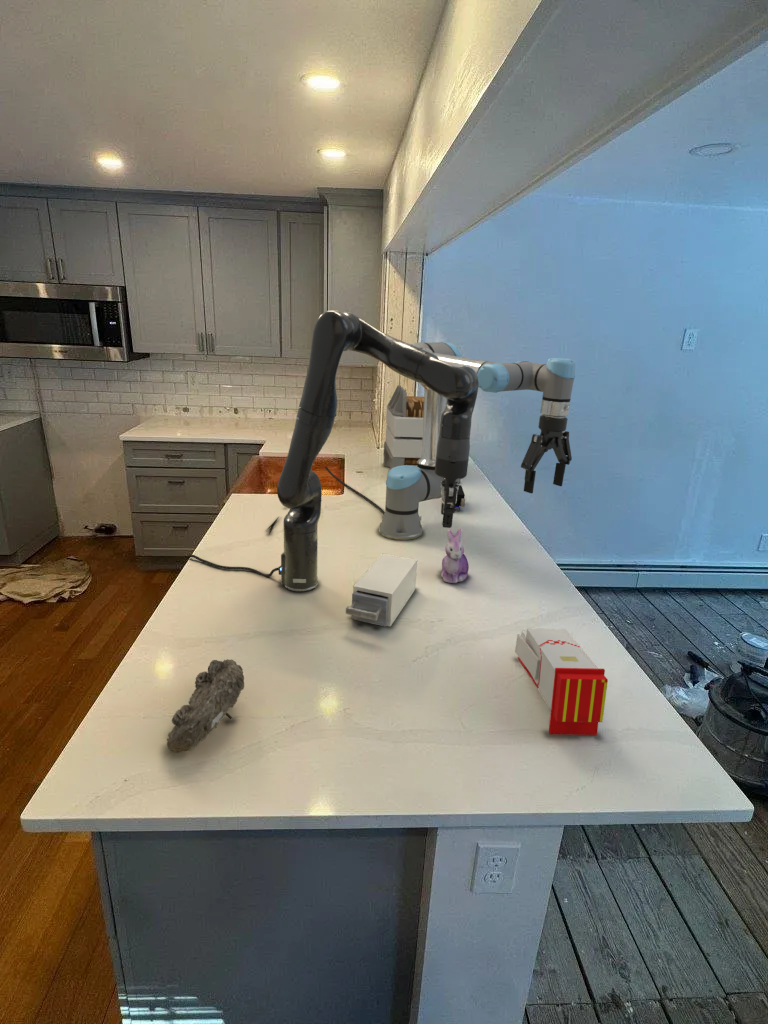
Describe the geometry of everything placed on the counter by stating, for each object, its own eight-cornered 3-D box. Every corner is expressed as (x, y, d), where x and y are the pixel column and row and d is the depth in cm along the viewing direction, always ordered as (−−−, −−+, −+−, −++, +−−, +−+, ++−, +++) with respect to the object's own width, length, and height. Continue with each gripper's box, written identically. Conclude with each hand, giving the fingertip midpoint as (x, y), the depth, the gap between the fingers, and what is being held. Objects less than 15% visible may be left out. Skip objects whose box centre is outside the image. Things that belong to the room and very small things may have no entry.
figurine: (450, 587, 163) (454, 538, 158) (431, 572, 171) (435, 526, 166) (477, 581, 167) (482, 534, 162) (457, 567, 175) (461, 522, 170)
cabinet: (390, 626, 141) (392, 594, 138) (352, 618, 145) (353, 585, 141) (415, 589, 161) (417, 559, 158) (381, 582, 164) (382, 553, 161)
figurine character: (465, 515, 224) (460, 499, 237) (467, 498, 221) (462, 483, 234) (448, 515, 224) (444, 499, 237) (450, 498, 220) (445, 482, 234)
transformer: (382, 463, 289) (386, 382, 275) (445, 464, 293) (451, 384, 279) (390, 482, 257) (394, 392, 243) (460, 483, 261) (468, 394, 247)
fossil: (192, 660, 117) (244, 628, 112) (224, 691, 120) (276, 661, 115) (142, 746, 98) (202, 712, 93) (182, 779, 101) (242, 748, 96)
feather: (286, 511, 220) (288, 507, 220) (268, 535, 193) (271, 531, 193) (282, 508, 220) (285, 504, 219) (263, 533, 193) (266, 528, 193)
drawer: (377, 638, 134) (378, 611, 132) (342, 630, 137) (343, 604, 135) (410, 590, 158) (411, 567, 155) (379, 584, 160) (380, 561, 158)
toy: (561, 612, 132) (617, 675, 103) (556, 665, 135) (608, 741, 106) (510, 611, 132) (551, 674, 102) (505, 664, 134) (544, 741, 105)
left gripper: (435, 447, 138) (430, 509, 143) (437, 462, 124) (430, 530, 130) (466, 449, 137) (459, 511, 143) (471, 464, 124) (463, 533, 130)
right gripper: (536, 421, 148) (525, 499, 155) (591, 414, 162) (579, 485, 169) (513, 416, 153) (504, 491, 160) (569, 410, 168) (558, 479, 175)
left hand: (446, 520), depth 136 cm, fingers open, 8 cm apart
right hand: (543, 488), depth 165 cm, fingers open, 13 cm apart
